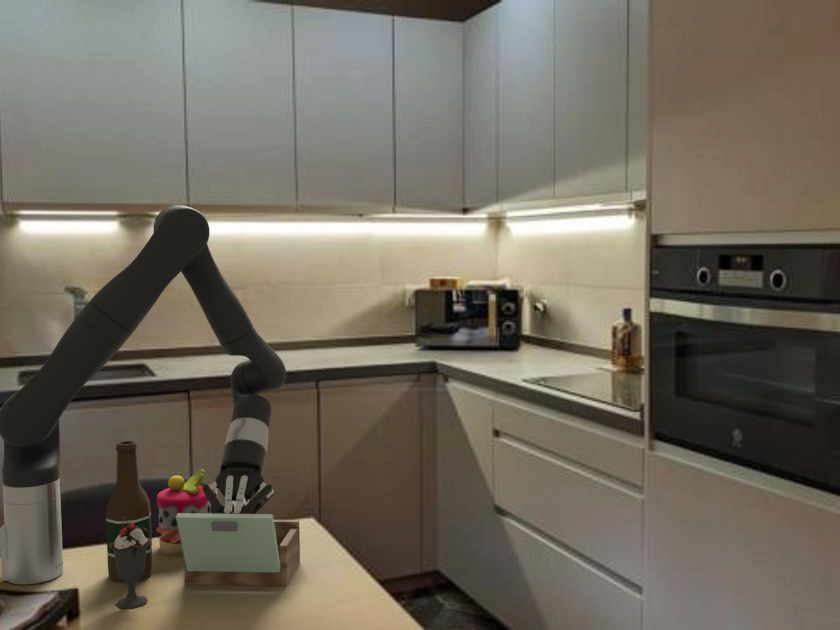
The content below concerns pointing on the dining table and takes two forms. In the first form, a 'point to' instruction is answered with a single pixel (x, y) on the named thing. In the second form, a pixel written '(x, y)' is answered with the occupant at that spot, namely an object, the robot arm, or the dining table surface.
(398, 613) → the dining table surface
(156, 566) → the dining table surface
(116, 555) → the sundae
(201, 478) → the cake
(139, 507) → the beer bottle
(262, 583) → the wooden box
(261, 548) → the pale green panel
